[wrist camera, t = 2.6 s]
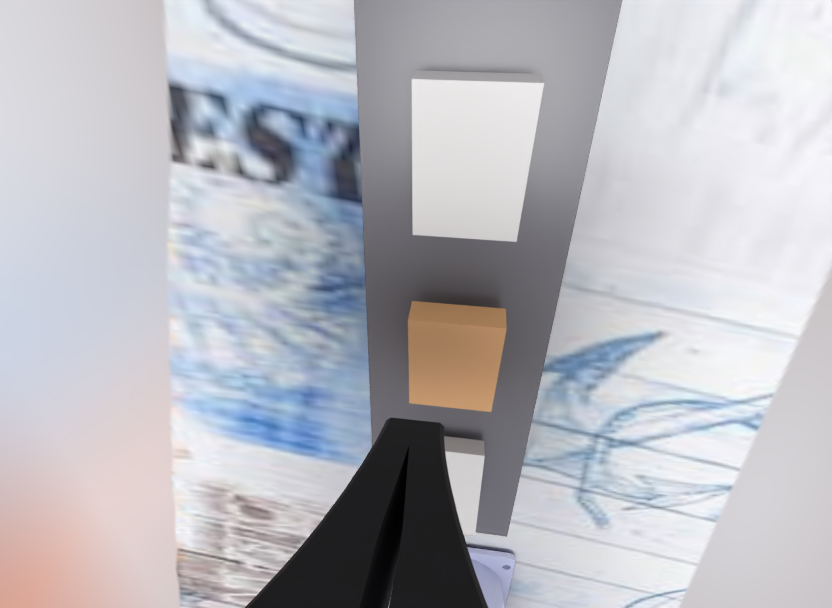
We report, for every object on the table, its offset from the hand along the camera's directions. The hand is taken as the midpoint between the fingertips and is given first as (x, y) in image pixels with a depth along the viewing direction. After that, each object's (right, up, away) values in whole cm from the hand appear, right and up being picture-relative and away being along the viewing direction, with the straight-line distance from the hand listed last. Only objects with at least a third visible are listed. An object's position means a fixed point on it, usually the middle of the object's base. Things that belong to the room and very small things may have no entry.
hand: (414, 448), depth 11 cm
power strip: (+2, +4, +9) cm, 10 cm away
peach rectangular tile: (+1, +2, +5) cm, 6 cm away
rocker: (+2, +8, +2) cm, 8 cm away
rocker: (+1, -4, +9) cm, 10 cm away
